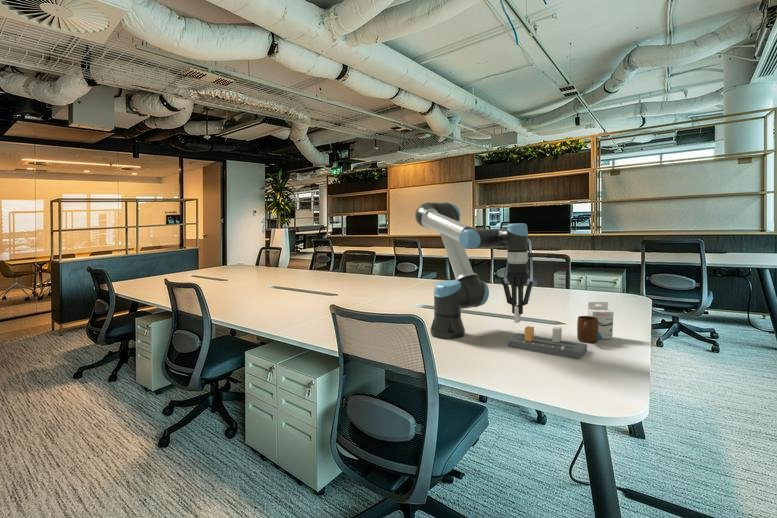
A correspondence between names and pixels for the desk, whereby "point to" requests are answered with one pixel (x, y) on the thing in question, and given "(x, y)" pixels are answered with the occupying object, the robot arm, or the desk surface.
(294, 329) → the desk surface
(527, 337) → the fader tab
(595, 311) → the ink box
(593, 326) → the mug
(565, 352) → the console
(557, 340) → the fader far
